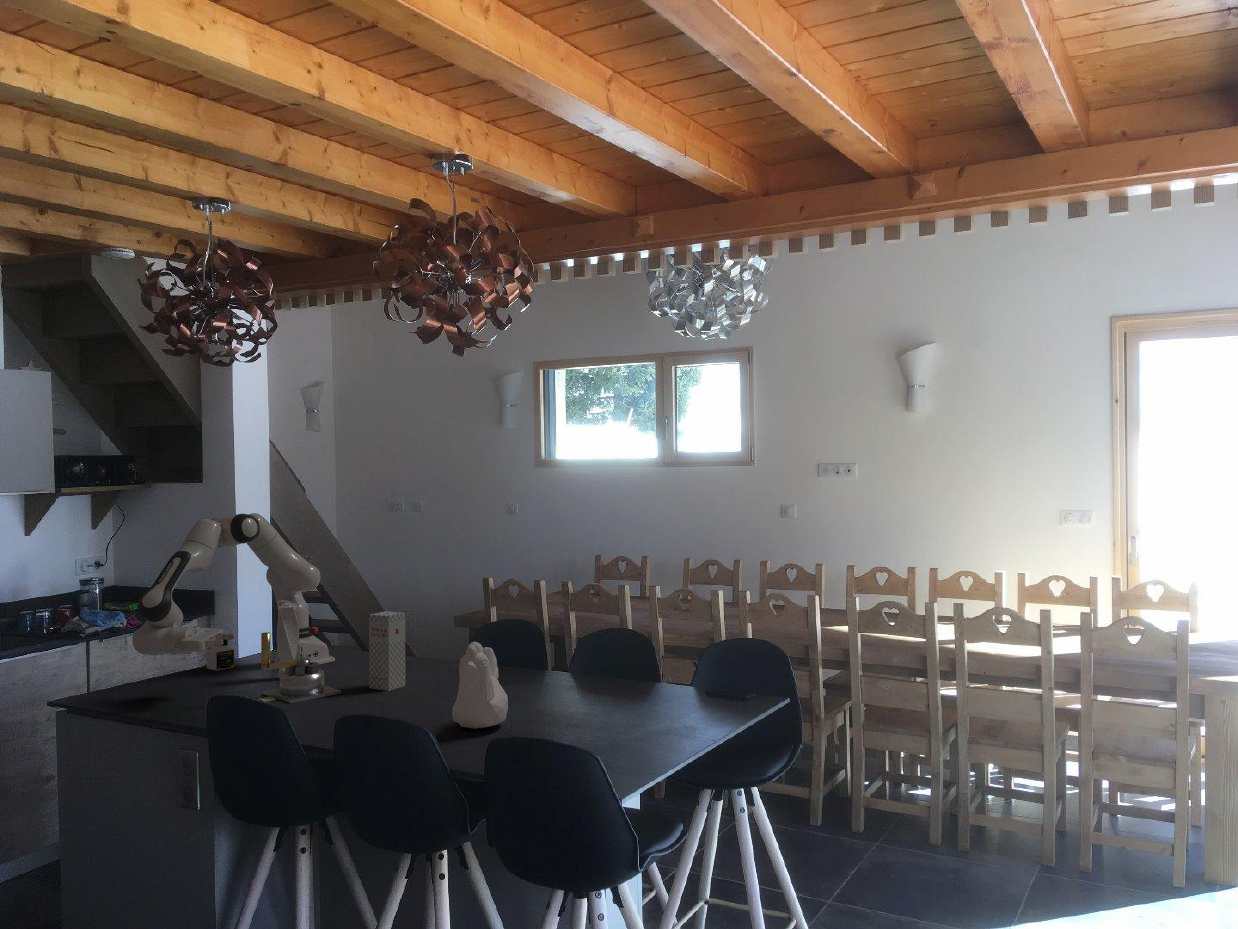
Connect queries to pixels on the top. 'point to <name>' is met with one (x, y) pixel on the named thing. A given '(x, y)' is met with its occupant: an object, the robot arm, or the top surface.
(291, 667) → the crank handle
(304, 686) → the metal pedestal base
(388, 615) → the box
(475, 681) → the white figurine
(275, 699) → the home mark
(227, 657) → the medicine bottle
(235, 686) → the top surface
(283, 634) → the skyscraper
